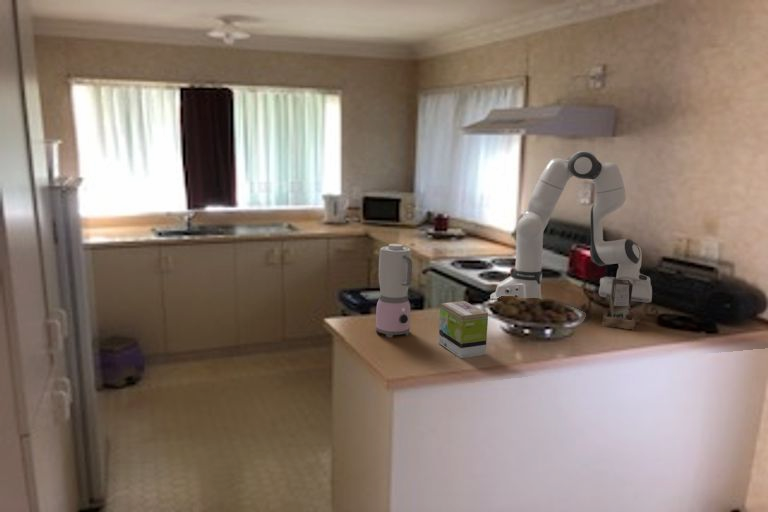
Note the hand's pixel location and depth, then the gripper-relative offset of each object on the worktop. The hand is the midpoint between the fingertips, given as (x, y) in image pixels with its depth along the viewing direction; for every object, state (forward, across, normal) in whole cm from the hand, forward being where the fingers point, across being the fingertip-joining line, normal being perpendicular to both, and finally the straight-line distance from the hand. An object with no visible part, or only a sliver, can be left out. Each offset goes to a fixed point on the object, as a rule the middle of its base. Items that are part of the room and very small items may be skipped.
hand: (622, 307), depth 240 cm
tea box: (+52, -44, -46) cm, 83 cm away
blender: (+50, -70, -44) cm, 97 cm away
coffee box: (+7, -1, -1) cm, 7 cm away
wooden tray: (+10, 0, -3) cm, 10 cm away
